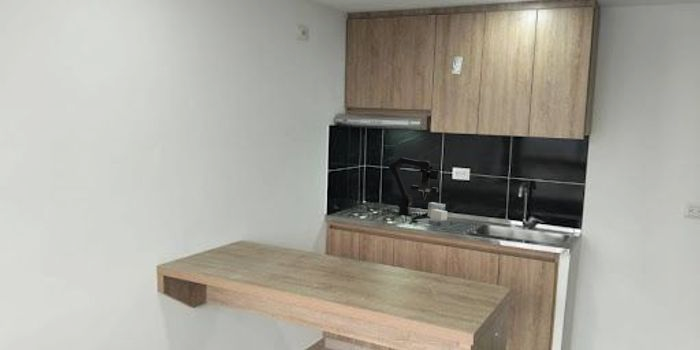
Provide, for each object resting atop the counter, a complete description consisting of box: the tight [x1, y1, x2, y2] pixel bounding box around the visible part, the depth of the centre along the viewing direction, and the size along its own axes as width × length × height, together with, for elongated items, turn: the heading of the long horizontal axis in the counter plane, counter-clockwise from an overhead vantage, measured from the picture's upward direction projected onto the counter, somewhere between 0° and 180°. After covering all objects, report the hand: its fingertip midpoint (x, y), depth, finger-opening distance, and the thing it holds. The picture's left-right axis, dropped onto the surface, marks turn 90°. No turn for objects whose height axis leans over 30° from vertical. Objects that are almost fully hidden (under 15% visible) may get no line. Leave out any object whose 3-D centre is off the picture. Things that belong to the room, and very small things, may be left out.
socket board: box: [415, 217, 453, 227], centre depth 367 cm, size 22×14×4 cm, turn 40°
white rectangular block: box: [430, 209, 448, 221], centre depth 363 cm, size 9×6×9 cm, turn 40°
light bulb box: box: [427, 201, 446, 218], centre depth 387 cm, size 11×7×11 cm, turn 56°
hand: (423, 200), depth 380 cm, fingers closed
